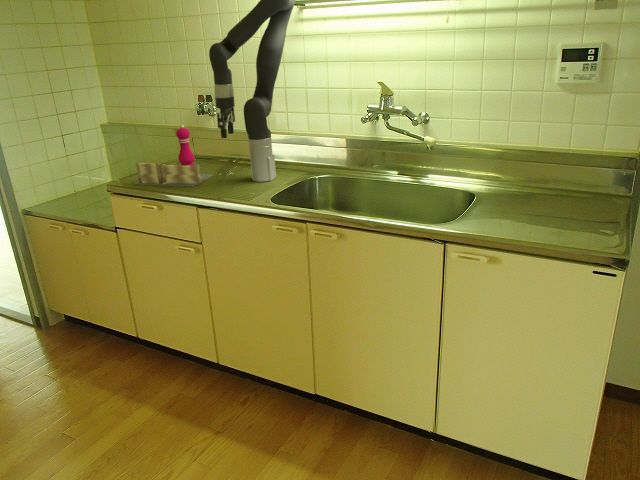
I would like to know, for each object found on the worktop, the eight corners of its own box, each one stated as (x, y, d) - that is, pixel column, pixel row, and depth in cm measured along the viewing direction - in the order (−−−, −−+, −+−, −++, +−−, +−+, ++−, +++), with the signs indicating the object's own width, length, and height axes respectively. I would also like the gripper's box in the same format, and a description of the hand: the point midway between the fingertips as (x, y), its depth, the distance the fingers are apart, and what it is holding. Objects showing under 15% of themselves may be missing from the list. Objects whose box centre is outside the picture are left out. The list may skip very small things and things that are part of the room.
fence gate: (162, 182, 226) (159, 164, 223) (164, 181, 228) (161, 163, 225) (199, 183, 221) (197, 165, 219) (202, 182, 223) (199, 164, 220)
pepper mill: (193, 169, 250) (187, 125, 243) (178, 170, 250) (171, 126, 243) (197, 165, 257) (191, 122, 249) (182, 166, 257) (175, 123, 250)
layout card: (213, 175, 238) (213, 174, 237) (193, 186, 221) (193, 185, 221) (156, 173, 245) (156, 172, 245) (133, 184, 229) (133, 183, 229)
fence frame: (138, 183, 229) (134, 163, 226) (140, 182, 231) (137, 162, 228) (161, 183, 226) (158, 163, 223) (164, 182, 228) (160, 162, 225)
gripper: (227, 98, 211) (230, 139, 217) (238, 92, 224) (241, 132, 230) (209, 98, 212) (212, 139, 219) (221, 92, 225) (224, 131, 231)
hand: (227, 135), depth 224 cm, fingers open, 8 cm apart
